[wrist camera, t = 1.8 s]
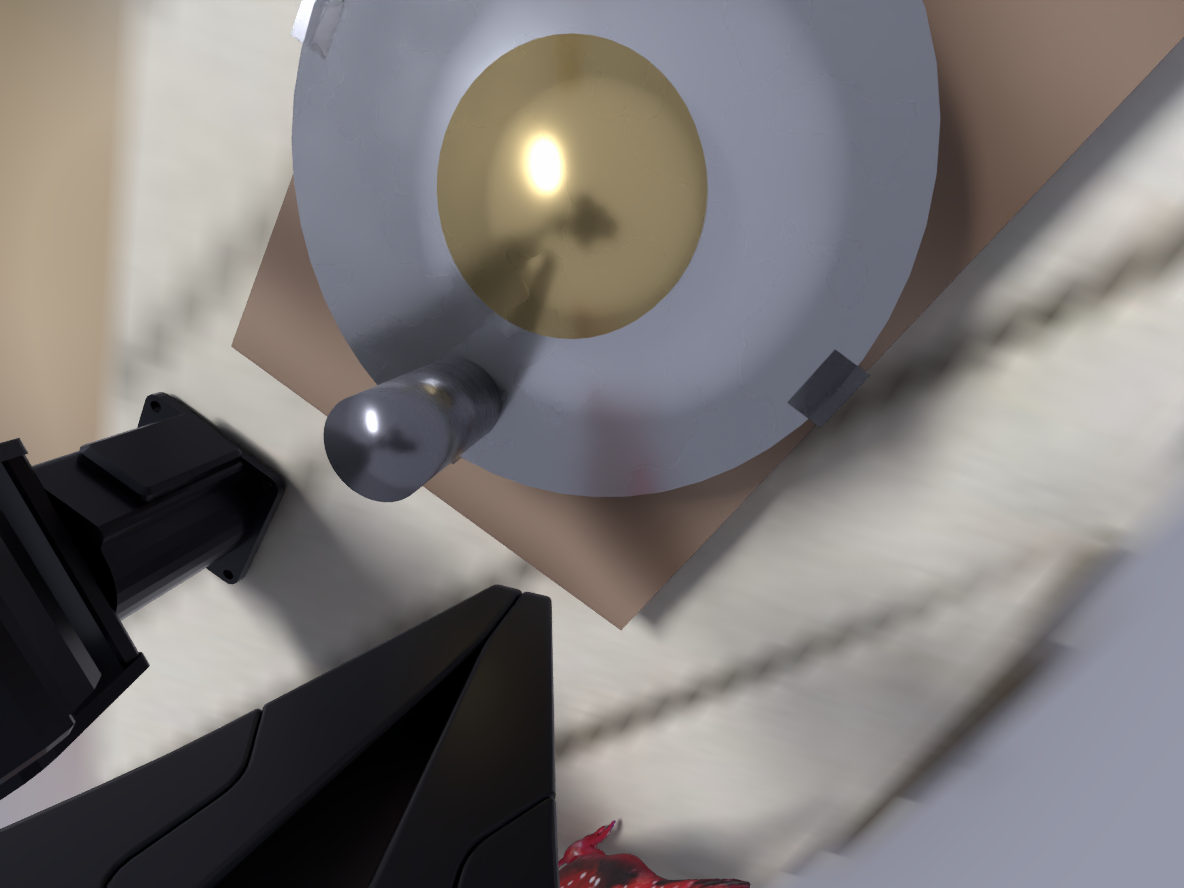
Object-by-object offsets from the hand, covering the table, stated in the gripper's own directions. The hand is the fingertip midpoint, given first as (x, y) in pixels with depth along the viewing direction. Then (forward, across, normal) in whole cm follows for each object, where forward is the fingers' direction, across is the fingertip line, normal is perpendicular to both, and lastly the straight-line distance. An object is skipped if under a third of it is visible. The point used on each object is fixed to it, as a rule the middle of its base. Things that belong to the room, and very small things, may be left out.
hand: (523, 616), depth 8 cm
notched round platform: (+10, +2, -6) cm, 12 cm away
